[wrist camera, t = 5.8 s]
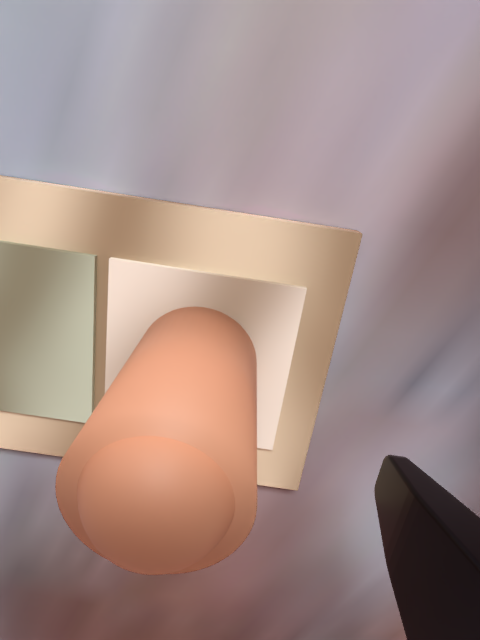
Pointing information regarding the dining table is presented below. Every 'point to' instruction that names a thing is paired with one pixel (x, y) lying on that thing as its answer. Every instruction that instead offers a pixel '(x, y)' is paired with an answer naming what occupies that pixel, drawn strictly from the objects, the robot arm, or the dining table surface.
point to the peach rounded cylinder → (169, 450)
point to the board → (159, 306)
